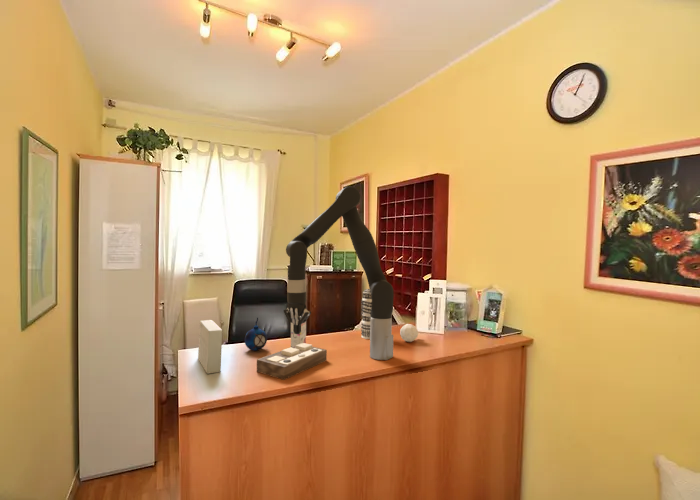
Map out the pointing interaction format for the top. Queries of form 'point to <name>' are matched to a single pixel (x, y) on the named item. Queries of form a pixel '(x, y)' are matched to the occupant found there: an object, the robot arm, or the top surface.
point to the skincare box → (210, 346)
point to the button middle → (290, 352)
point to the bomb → (255, 338)
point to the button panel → (291, 369)
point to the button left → (276, 359)
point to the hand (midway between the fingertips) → (297, 333)
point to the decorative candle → (366, 313)
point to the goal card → (299, 356)
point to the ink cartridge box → (298, 335)
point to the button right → (303, 347)
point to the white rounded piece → (409, 332)
